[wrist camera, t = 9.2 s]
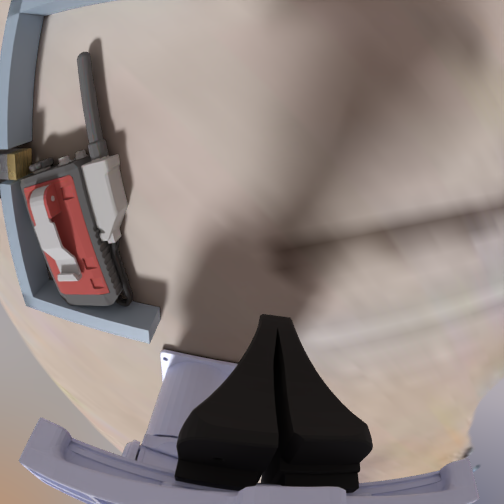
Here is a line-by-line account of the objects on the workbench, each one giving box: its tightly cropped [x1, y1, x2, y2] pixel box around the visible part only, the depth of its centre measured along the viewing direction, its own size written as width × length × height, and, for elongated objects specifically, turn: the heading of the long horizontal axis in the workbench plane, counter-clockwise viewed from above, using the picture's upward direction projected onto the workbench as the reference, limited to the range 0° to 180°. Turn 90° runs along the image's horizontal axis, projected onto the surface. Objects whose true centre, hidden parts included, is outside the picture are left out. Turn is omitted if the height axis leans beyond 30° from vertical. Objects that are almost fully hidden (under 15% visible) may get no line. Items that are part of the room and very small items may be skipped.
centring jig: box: [0, 0, 160, 344], centre depth 14 cm, size 27×18×12 cm
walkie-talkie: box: [20, 52, 133, 306], centre depth 19 cm, size 9×4×20 cm
